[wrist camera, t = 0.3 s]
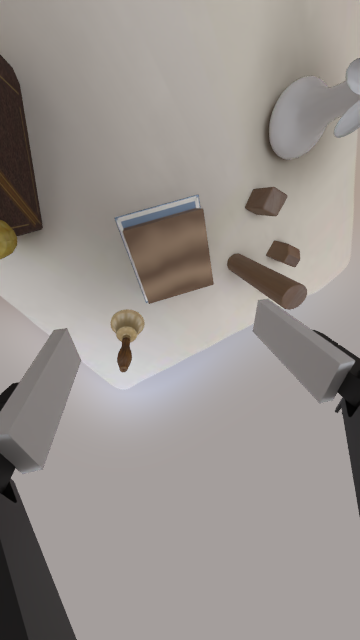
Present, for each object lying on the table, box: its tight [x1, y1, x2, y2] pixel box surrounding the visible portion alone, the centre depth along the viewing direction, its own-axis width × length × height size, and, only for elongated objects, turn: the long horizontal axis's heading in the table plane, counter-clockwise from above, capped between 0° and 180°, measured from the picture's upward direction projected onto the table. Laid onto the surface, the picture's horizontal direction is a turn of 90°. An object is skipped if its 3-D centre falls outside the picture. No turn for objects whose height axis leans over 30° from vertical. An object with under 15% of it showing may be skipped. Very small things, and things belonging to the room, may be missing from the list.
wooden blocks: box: [227, 187, 307, 309], centre depth 36 cm, size 17×20×20 cm
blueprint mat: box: [115, 195, 200, 303], centre depth 40 cm, size 18×16×1 cm
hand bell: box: [111, 310, 144, 372], centre depth 40 cm, size 8×8×16 cm
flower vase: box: [269, 58, 360, 160], centre depth 22 cm, size 13×18×25 cm
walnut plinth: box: [123, 208, 213, 304], centre depth 38 cm, size 14×14×5 cm
